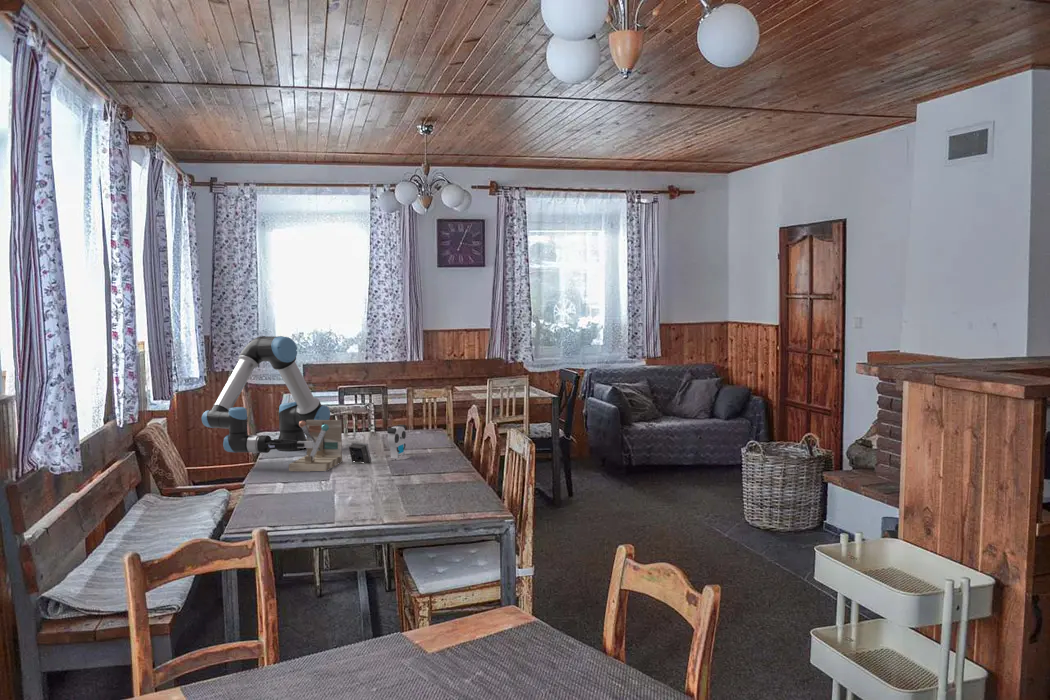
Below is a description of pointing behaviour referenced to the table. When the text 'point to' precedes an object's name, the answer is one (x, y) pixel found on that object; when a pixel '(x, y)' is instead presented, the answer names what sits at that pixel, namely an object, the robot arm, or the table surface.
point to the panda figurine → (396, 440)
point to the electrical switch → (359, 452)
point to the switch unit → (322, 447)
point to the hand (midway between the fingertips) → (312, 444)
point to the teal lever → (319, 441)
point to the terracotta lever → (307, 432)
